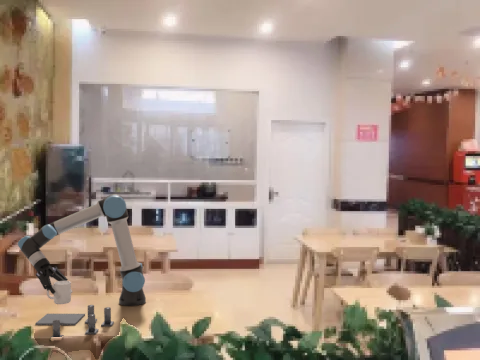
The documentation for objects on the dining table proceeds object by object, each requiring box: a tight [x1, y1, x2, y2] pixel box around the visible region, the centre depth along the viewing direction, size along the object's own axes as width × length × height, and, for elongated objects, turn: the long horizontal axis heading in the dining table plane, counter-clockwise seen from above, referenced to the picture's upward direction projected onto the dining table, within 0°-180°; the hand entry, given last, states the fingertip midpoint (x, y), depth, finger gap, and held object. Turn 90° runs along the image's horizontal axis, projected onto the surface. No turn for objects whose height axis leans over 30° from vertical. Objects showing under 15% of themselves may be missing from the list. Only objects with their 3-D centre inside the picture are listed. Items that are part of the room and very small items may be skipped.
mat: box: [34, 313, 86, 326], centre depth 264 cm, size 20×16×1 cm
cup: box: [46, 280, 72, 305], centre depth 262 cm, size 8×12×10 cm
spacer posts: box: [51, 304, 115, 337], centre depth 248 cm, size 23×29×8 cm
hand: (65, 295), depth 262 cm, fingers closed on cup, 8 cm apart
